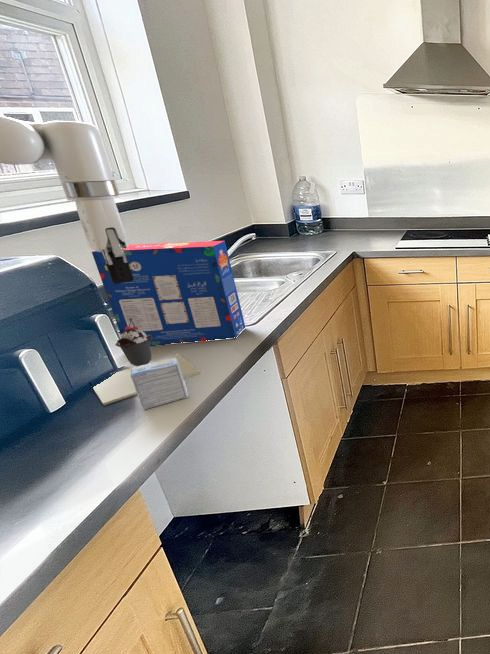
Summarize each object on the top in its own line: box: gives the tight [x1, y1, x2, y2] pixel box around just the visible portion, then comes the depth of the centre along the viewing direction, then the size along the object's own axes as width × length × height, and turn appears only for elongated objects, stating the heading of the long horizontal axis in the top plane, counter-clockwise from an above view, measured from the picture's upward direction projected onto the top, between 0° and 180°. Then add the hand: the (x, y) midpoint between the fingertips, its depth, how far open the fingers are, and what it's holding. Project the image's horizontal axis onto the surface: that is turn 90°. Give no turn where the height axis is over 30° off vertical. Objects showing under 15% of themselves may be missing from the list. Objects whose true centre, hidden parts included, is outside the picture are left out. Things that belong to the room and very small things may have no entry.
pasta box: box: [91, 240, 246, 347], centre depth 119 cm, size 28×8×28 cm, turn 103°
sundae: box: [115, 318, 153, 367], centre depth 98 cm, size 7×7×15 cm
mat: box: [92, 353, 201, 406], centre depth 101 cm, size 18×16×1 cm
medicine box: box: [131, 358, 189, 411], centre depth 91 cm, size 8×4×9 cm, turn 130°
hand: (123, 281), depth 86 cm, fingers closed
